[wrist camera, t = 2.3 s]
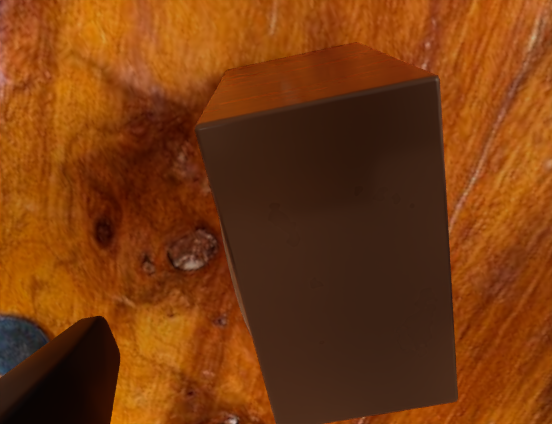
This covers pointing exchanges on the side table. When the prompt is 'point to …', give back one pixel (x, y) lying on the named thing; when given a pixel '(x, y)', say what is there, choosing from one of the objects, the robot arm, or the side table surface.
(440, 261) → the dark brown block
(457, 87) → the side table surface
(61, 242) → the side table surface
